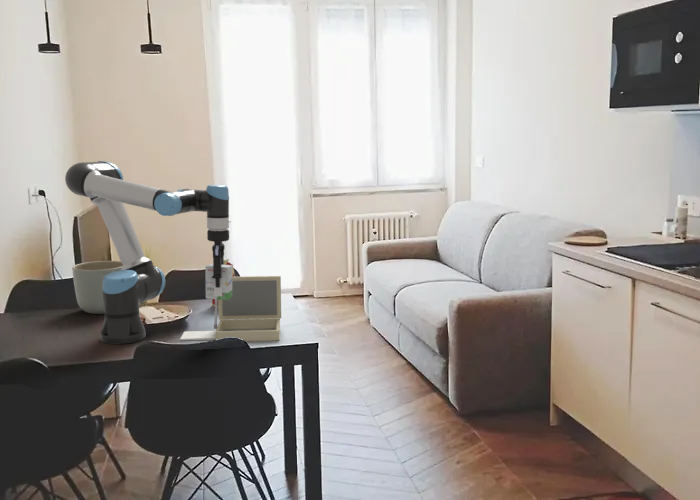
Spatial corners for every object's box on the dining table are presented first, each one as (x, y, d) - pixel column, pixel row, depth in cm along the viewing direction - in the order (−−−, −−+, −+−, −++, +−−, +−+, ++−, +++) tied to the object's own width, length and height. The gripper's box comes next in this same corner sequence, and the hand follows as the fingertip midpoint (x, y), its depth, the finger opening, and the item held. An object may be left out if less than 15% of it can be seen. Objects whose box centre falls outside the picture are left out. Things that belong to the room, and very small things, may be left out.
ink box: (205, 298, 236) (204, 266, 234) (210, 295, 241) (209, 263, 239) (228, 300, 235) (227, 267, 232) (233, 296, 240) (232, 264, 237)
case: (211, 341, 232) (209, 286, 229) (217, 328, 249) (215, 276, 246) (280, 340, 234) (279, 285, 231) (281, 326, 251) (280, 275, 248)
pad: (180, 340, 234) (180, 338, 234) (184, 333, 243) (184, 331, 243) (217, 339, 235) (217, 337, 235) (220, 332, 244) (220, 330, 244)
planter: (98, 320, 260) (95, 272, 257) (64, 312, 271) (61, 266, 268) (140, 308, 278) (137, 263, 275) (107, 302, 289) (104, 259, 285)
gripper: (226, 233, 225) (227, 300, 229) (231, 225, 243) (231, 287, 247) (204, 233, 224) (205, 300, 228) (210, 225, 243) (211, 287, 247)
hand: (219, 293), depth 238 cm, fingers closed on ink box, 6 cm apart
